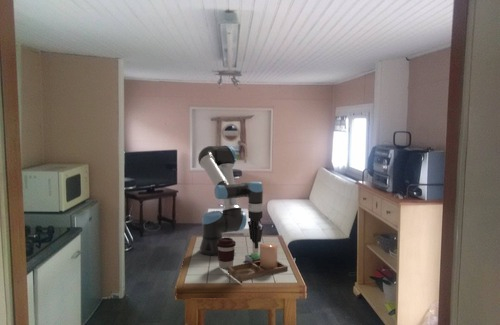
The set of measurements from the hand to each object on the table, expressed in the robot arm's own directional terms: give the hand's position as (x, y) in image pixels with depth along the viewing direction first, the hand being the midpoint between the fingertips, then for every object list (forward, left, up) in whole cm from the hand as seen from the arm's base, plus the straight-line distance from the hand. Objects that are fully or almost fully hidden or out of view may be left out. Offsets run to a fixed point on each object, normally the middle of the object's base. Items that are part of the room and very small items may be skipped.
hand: (255, 253), depth 208 cm
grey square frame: (0, 0, -6) cm, 6 cm away
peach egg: (+12, +1, -4) cm, 13 cm away
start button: (0, 0, -3) cm, 3 cm away
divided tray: (+12, -5, -6) cm, 14 cm away
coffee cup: (-3, -16, -6) cm, 17 cm away
